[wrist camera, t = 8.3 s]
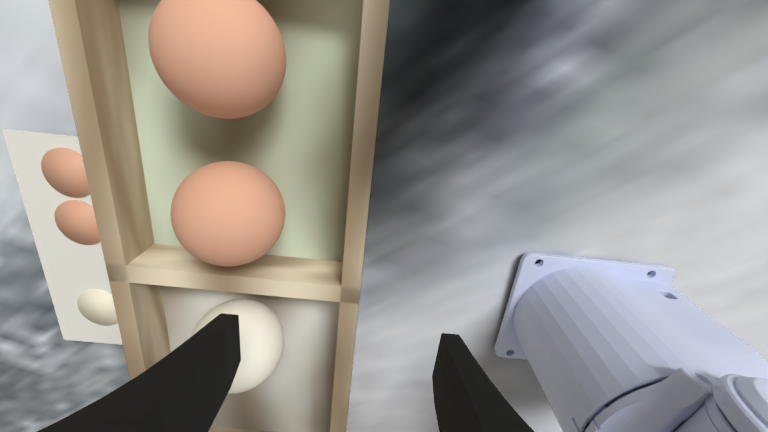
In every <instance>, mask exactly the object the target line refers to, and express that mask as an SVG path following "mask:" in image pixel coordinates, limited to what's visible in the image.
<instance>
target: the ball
mask: <svg viewBox="0 0 768 432" xmlns="http://www.w3.org/2000/svg"><path fill="white" fill-rule="evenodd" d="M148 44H149V51H150V56H151V59H152V62H153V65H154V67H155V69H156V72H157V73H158V75H159V77H160V79H161V80H162V82H163V83H164V84H165V86H166V87H167V88H168V89H169V90H170V91H171V93H172V94H173V95H174V96H176V97H177V98H178V99H179V100H180V101H181V102H183V103H184V104H185V105H187V106H189V107H190V108H192V109H194V110H196V111H198V112H200V113H202V114H205V115H208V116H212V117H217V118H225V119H233V118H241V117H246V116H249V115H252V114H254V113H256V112H258V111H260V110H261V109H263V108H264V107H266V106H267V105H268V104H269V103H270V102H271V101H272V100H273V99H274V98H275V96H276V95H277V93H278V92H279V90H280V88H281V86H282V83H283V80H284V77H285V72H286V51H285V45H284V42H283V39H282V36H281V34H280V31H279V29H278V27H277V25H276V23H275V22H274V20H273V18H272V17H271V16H270V14H269V13H268V12H267V10H266V9H265V8H264V7H263V6H262V5H261V4H260V3H259V2H258V1H256V0H161V1H160V3H159V4H158V5H157V7H156V9H155V11H154V13H153V15H152V18H151V21H150V25H149V31H148Z"/></svg>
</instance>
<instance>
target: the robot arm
mask: <svg viewBox="0 0 768 432" xmlns="http://www.w3.org/2000/svg"><path fill="white" fill-rule="evenodd" d="M538 259H541V261H540V262H539V263H537V264H535V262H536V260H538ZM650 271H651V272H650ZM648 272H650V273H649V274H647V273H648ZM674 276H675V271H674V270H673V269H672V268H670V267H668V266H662V265H652V264H642V263H632V262H623V261H613V260H603V259H593V258H583V257H573V256H563V255H553V254H544V253H534V252H528V253H525V254H524V255H523V256H522V257H521V260H520V263H519V266H518V270H517V273H516V276H515V280H514V283H513V287H512V290H511V293H510V297H509V300H508V304H507V307H506V310H505V314H504V317H503V320H502V324H501V327H500V331H499V334H498V337H497V341H496V344H495V347H494V351H495V353H496V355H497V356H498V357H501V358H512V359H524V360H528V361H529V363H530V365H531V367H532V369H533V371H534V373H535V375H536V377H537V379H538V381H539V383H540V385H541V388H542V390H543V392H544V394H545V396H546V398H547V400H548V402H549V404H550V406H551V408H552V410H553V412H554V414H555V416H556V418H557V420H558V422H559V424H560V426H561V428H562V430H563V432H768V363H767V362H766V361H765V360H764V358H763V357H762V356H761V355H760V354H759V353H758V352H757V351H756V350H755V349H753V348H752V347H751V346H750V345H748V344H747V343H746V342H744V341H743V340H742V339H741V338H739V337H738V336H737V335H735V334H734V333H733V332H731V331H730V330H729V329H727V328H726V327H725V326H724V325H722V324H721V323H720V322H718V321H717V320H716V319H714V318H713V317H712V316H711V315H709V314H708V313H707V312H705V311H704V310H703V309H701V308H700V307H699V306H697V305H696V304H695V303H694V302H692V301H691V300H690V299H688V298H687V297H686V296H684V295H683V294H682V293H680V292H679V291H678V290H677V289H675V288H674V287H673V286H671V285H670V284H671V282H672V280H673V278H674ZM509 350H511V351H510V352H507V351H509ZM240 361H241V352H240V333H239V315H235V314H224V313H221V314H219V315H218V316H217V317H215V318H214V319H213V320H212V321H210V322H209V323H208V324H207V325H205V326H204V327H203V328H202V329H200V330H199V331H198V332H197V333H195V334H194V335H193V336H191V337H190V338H189V339H188V340H186V341H185V342H184V343H182V344H181V345H180V346H179V347H177V348H176V349H175V350H173V351H172V352H171V353H169V354H168V355H167V356H165V357H164V358H163V359H161V360H160V361H158V362H157V363H156V364H154V365H153V366H151V367H150V368H148V369H147V370H146V371H144V372H143V373H141V374H140V375H138V376H137V377H135V378H134V379H132V380H131V381H129V382H127V383H126V384H124V385H123V386H121V387H119V388H118V389H116V390H114V391H113V392H111V393H109V394H108V395H106V396H104V397H103V398H101V399H99V400H97V401H95V402H94V403H92V404H90V405H88V406H86V407H84V408H82V409H81V410H79V411H77V412H75V413H73V414H71V415H69V416H68V417H66V418H64V419H62V420H60V421H58V422H56V423H54V424H52V425H50V426H48V427H46V428H44V429H42V430H40V431H37V432H208V431H209V429H210V427H211V425H212V423H213V421H214V420H215V418H216V416H217V414H218V412H219V410H220V408H221V406H222V404H223V402H224V400H225V398H226V396H227V394H228V392H229V390H230V388H231V385H232V383H233V380H234V378H235V375H236V372H237V369H238V367H239V364H240ZM432 378H433V392H434V403H435V409H436V415H437V420H438V425H439V430H440V432H534V431H533V430H532V429H531V428H530V427H529V425H528V424H527V423H526V422H525V421H524V420H523V419H522V418H521V417H520V416H519V415H518V414H517V413H516V411H515V410H514V409H513V408H512V407H511V406H510V404H509V403H508V402H507V401H506V400H505V398H504V397H503V396H502V395H501V393H500V392H499V391H498V390H497V388H496V387H495V386H494V384H493V383H492V382H491V380H490V379H489V378H488V376H487V375H486V374H485V372H484V371H483V370H482V368H481V367H480V365H479V364H478V362H477V361H476V360H475V358H474V357H473V355H472V354H471V352H470V351H469V349H468V348H467V346H466V345H465V343H464V342H463V340H462V339H461V337H460V336H459V335H456V334H445V333H442V334H441V339H440V344H439V348H438V353H437V357H436V362H435V366H434V371H433V376H432Z"/></svg>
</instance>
